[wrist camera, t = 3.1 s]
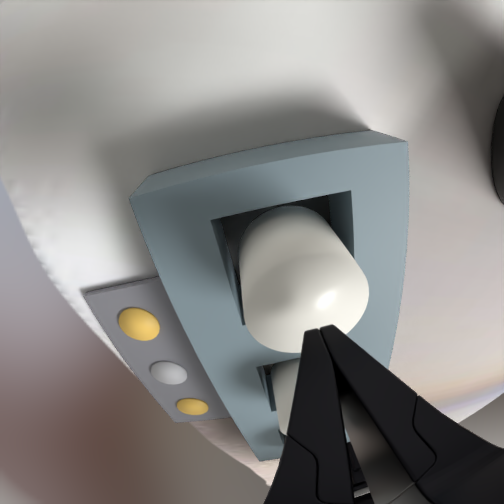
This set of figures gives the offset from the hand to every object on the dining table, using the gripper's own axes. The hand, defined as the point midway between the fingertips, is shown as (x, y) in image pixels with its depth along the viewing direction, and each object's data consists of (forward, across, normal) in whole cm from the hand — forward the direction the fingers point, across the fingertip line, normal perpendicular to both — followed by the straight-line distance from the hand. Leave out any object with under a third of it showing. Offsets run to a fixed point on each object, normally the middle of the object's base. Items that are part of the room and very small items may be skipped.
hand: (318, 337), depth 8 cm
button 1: (+5, 0, 0) cm, 5 cm away
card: (+7, +8, +8) cm, 13 cm away
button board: (+7, 0, +8) cm, 10 cm away
